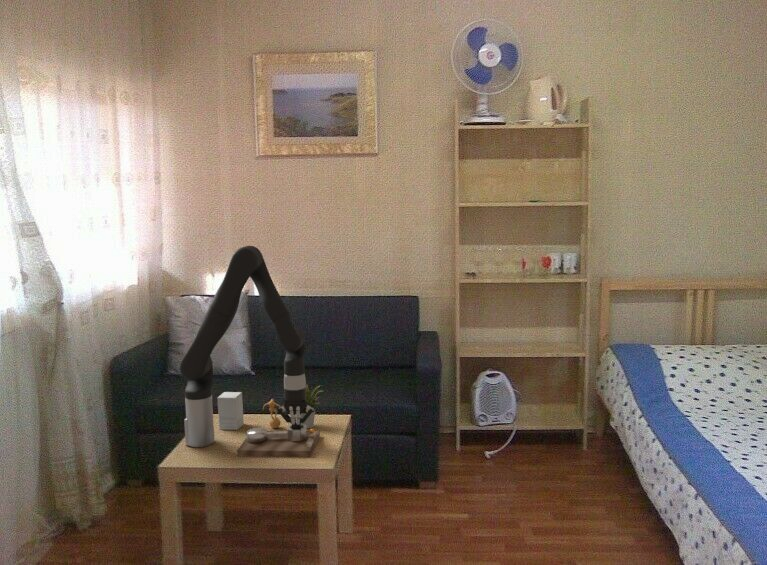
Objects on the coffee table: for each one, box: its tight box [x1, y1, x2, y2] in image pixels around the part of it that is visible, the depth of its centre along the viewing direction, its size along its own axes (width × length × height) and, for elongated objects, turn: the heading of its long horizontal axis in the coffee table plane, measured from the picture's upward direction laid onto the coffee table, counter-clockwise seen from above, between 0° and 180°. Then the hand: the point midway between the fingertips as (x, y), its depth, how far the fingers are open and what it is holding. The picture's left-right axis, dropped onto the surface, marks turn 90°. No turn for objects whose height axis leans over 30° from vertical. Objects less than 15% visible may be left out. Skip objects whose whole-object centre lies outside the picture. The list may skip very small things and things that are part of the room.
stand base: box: [236, 430, 321, 458], centre depth 249 cm, size 25×19×3 cm
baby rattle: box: [246, 424, 316, 443], centre depth 250 cm, size 24×7×4 cm, turn 93°
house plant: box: [301, 384, 323, 430], centre depth 267 cm, size 14×14×16 cm
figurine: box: [262, 398, 282, 429], centre depth 265 cm, size 8×6×12 cm
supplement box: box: [216, 391, 245, 431], centre depth 269 cm, size 7×7×13 cm
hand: (296, 433), depth 249 cm, fingers closed
